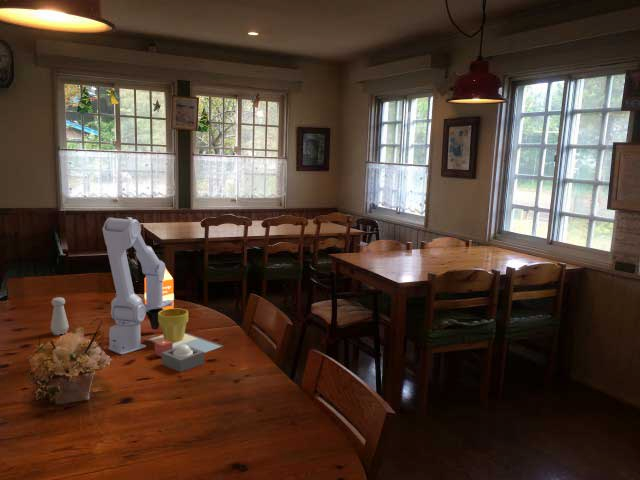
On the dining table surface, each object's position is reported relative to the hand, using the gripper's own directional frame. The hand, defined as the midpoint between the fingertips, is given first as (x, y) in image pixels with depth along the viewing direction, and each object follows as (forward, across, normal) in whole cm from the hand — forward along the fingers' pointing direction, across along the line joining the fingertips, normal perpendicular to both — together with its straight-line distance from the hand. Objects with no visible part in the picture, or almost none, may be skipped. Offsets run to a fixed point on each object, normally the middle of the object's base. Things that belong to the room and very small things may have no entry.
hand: (155, 328), depth 194 cm
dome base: (+1, -12, -30) cm, 33 cm away
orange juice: (+2, +15, +18) cm, 23 cm away
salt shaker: (+2, -23, +24) cm, 33 cm away
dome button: (0, -12, -30) cm, 33 cm away
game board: (+1, 0, -16) cm, 17 cm away
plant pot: (+2, 0, -10) cm, 11 cm away
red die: (+1, -11, -20) cm, 22 cm away
